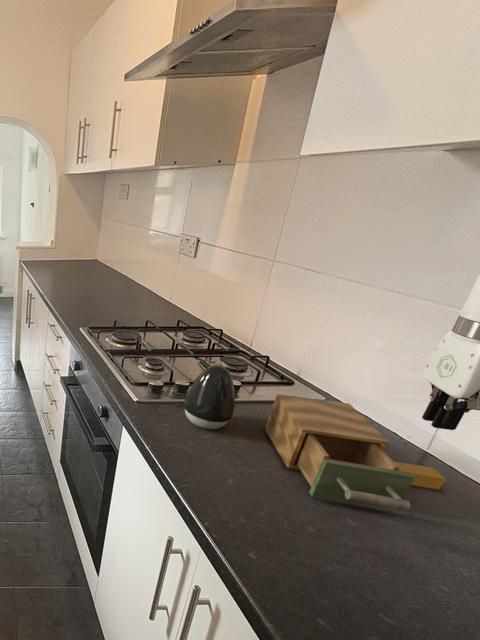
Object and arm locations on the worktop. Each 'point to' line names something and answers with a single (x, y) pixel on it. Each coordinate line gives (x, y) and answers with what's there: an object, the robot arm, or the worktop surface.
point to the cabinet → (315, 424)
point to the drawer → (353, 473)
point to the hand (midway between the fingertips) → (438, 423)
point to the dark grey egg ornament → (210, 398)
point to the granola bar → (423, 475)
